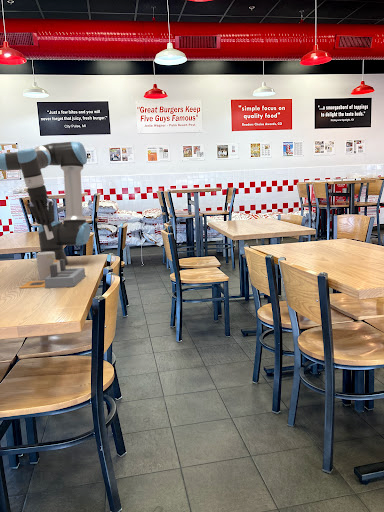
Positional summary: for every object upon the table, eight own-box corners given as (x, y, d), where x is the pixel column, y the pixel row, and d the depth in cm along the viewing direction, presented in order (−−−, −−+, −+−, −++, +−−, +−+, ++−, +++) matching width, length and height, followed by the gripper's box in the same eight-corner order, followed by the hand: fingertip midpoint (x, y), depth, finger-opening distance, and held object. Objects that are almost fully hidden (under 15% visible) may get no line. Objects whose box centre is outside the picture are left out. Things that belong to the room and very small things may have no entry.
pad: (29, 282, 193) (29, 281, 193) (53, 281, 193) (53, 280, 193) (19, 288, 182) (19, 287, 182) (45, 287, 182) (45, 286, 182)
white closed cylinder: (51, 280, 194) (49, 254, 192) (35, 280, 196) (32, 254, 194) (60, 276, 202) (58, 251, 200) (45, 276, 204) (42, 251, 202)
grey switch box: (59, 277, 200) (57, 258, 198) (85, 276, 200) (83, 257, 198) (45, 288, 180) (43, 267, 179) (73, 286, 180) (71, 265, 179)
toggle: (56, 271, 191) (55, 259, 190) (60, 271, 191) (59, 259, 190) (54, 273, 188) (52, 261, 187) (58, 272, 188) (57, 260, 187)
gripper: (17, 189, 180) (33, 242, 188) (43, 186, 176) (58, 240, 184) (28, 185, 187) (43, 236, 195) (53, 182, 183) (67, 234, 191)
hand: (50, 238), depth 190 cm, fingers closed
